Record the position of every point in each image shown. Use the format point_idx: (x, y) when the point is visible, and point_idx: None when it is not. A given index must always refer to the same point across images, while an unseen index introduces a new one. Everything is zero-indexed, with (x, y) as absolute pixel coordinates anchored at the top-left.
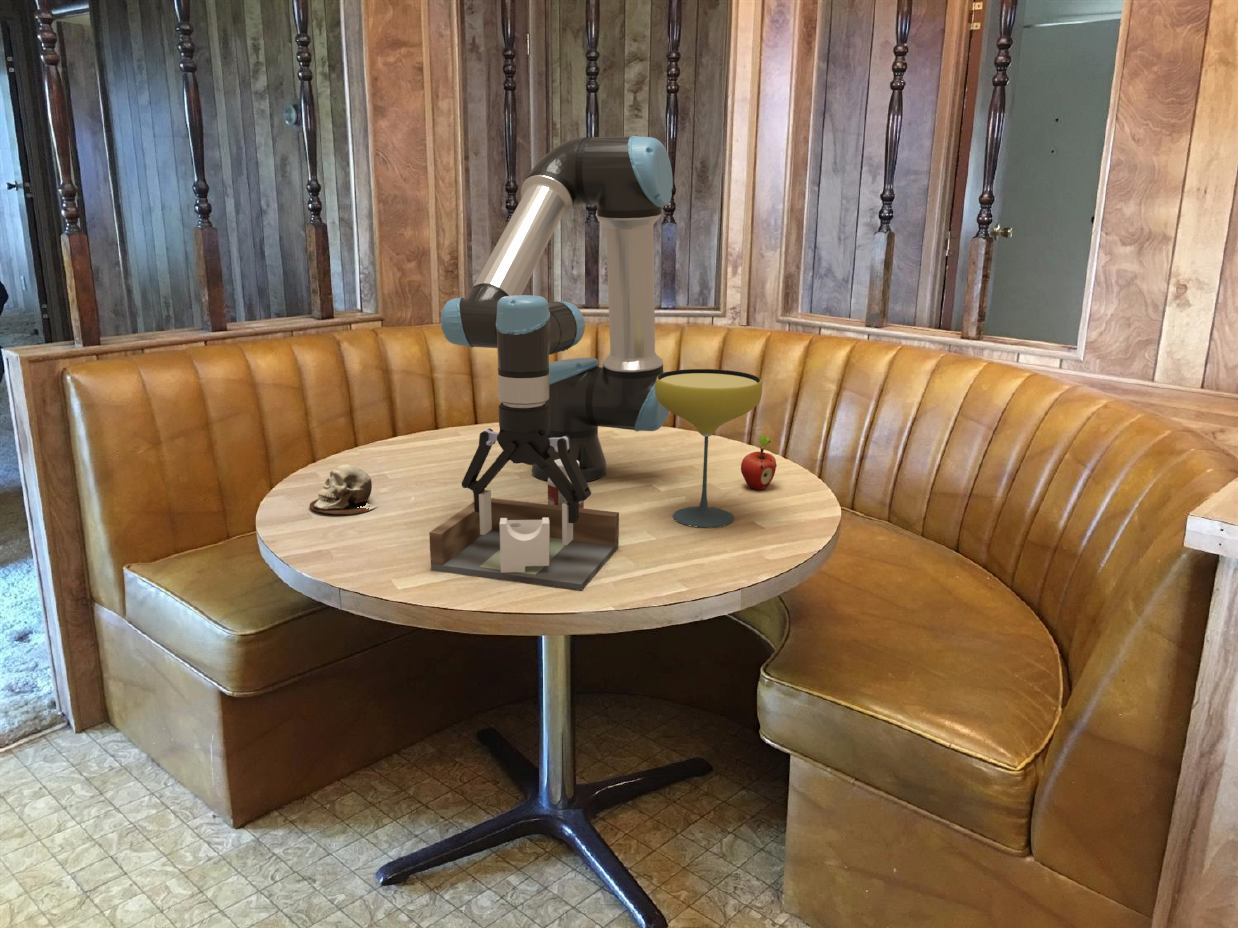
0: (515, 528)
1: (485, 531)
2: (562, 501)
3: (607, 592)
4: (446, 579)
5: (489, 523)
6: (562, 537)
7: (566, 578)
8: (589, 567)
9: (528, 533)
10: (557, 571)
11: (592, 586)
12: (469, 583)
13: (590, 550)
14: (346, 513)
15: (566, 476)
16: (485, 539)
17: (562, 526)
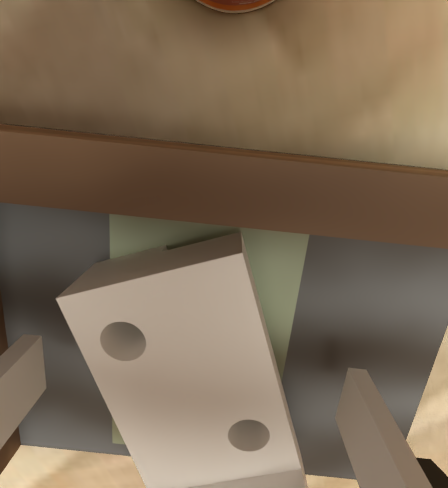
0: (139, 375)
1: (39, 387)
2: None
3: (445, 463)
4: (62, 460)
5: (25, 372)
6: (343, 440)
7: (348, 462)
8: (403, 396)
9: (204, 408)
10: (318, 431)
11: (407, 442)
12: (121, 469)
13: (396, 278)
14: None
15: None
16: (24, 257)
17: (359, 485)
